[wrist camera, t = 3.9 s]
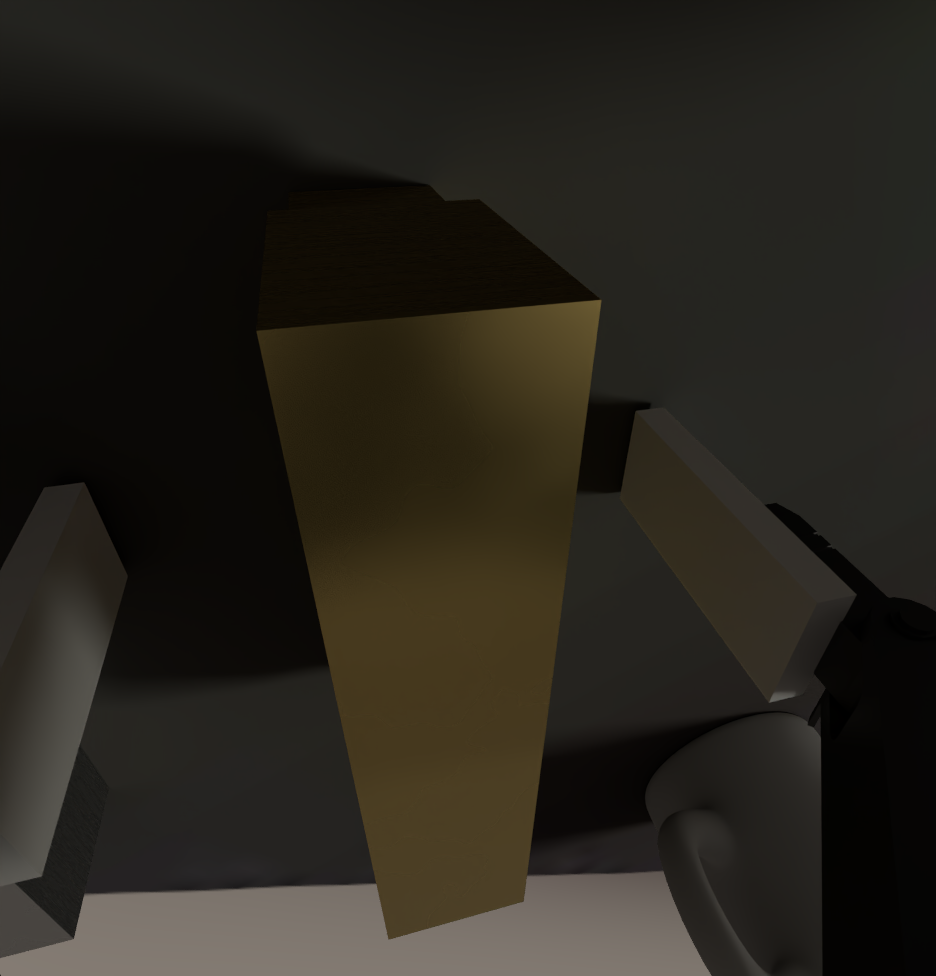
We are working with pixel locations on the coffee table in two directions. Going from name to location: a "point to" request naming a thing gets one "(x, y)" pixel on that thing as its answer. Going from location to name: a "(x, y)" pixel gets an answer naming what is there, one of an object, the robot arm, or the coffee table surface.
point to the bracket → (57, 871)
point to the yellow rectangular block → (431, 514)
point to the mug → (745, 844)
